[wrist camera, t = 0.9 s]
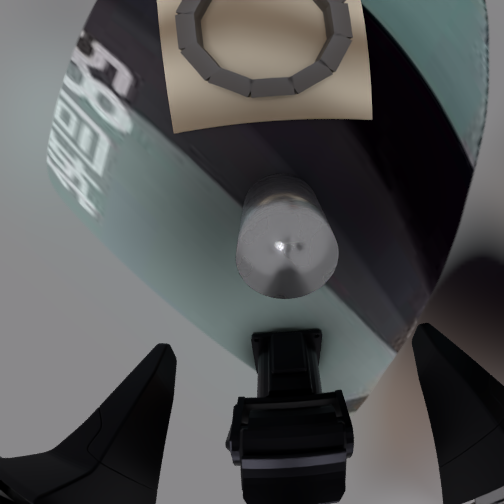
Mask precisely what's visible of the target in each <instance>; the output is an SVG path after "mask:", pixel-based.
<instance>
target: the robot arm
mask: <svg viewBox="0 0 504 504" xmlns="http://www.w3.org/2000/svg"><path fill="white" fill-rule="evenodd" d="M251 342H252V348H253V354H254V359H255V365H256V371H257V374H258V390H257V398H245V397H238V402H237V404H236V405H235V406H234V409H233V420H232V425H231V428H230V431H229V434H228V437H227V440H226V448H227V449H228V450H229V451H230V452H231V456H232V459H233V463H234V465H235V466H241V481H242V490H243V499H244V500H245V502H246V503H247V504H330V503H337V502H339V501H340V499H341V498H342V496H343V494H344V492H345V478H346V477H345V476H346V458H350V457H351V456H352V453H353V447H354V435H353V427H352V423H351V420H350V416H349V413H348V410H347V406H346V403H345V400H344V396H343V393H342V390H335V392H327V393H322V389H321V381H320V374H319V367H318V366H319V358H320V351H321V342H322V332H321V330H305V331H293V332H278V333H260V334H253V335H252V337H251ZM412 347H413V351H414V356H415V361H416V366H417V372H418V376H419V381H420V385H421V388H422V392H423V395H424V399H425V403H426V407H427V411H428V415H429V419H430V423H431V428H432V432H433V437H434V442H435V447H436V453H437V458H438V464H439V472H440V479H441V487H442V495H443V504H462V503H465V502H467V501H470V500H473V499H475V502H473V503H471V504H504V386H503V385H502V384H501V383H500V382H499V381H497V380H496V379H495V378H494V377H493V376H492V375H490V374H489V373H488V372H487V371H486V370H485V369H484V368H482V367H481V366H480V365H479V364H478V363H477V362H476V361H474V360H473V359H472V358H471V357H470V356H469V355H467V354H466V353H465V352H464V351H463V350H461V349H460V348H459V347H458V346H456V345H455V344H454V343H453V342H452V341H450V340H449V339H448V338H447V337H446V336H444V335H443V334H442V333H441V332H439V331H438V330H437V329H436V328H434V327H433V326H432V325H431V324H429V323H424V324H420V325H418V327H417V329H416V331H415V334H414V336H413V339H412ZM176 365H177V360H176V356H175V354H174V352H173V350H172V348H171V346H170V345H169V344H164V343H159V344H157V345H156V346H155V347H154V348H153V349H152V350H151V352H150V353H149V354H148V355H147V356H146V357H145V358H144V359H143V360H142V361H141V362H140V363H139V364H138V365H137V367H136V368H135V369H134V370H133V371H132V372H131V373H130V374H129V375H128V376H127V377H126V378H125V379H124V381H123V382H122V383H121V384H120V385H119V386H118V387H117V388H116V389H115V390H114V391H113V393H111V394H110V396H109V397H108V398H107V399H106V400H105V401H104V402H103V403H102V404H101V405H100V408H97V409H96V410H95V412H94V413H93V414H92V415H91V416H90V417H89V418H88V419H87V420H86V421H85V422H84V423H83V424H82V425H81V426H79V427H78V428H77V429H76V430H75V431H74V432H73V433H72V434H70V435H69V436H68V437H67V438H66V439H65V440H63V441H62V442H61V443H60V444H59V445H58V446H56V447H55V448H54V449H52V450H50V451H47V452H44V453H39V454H33V455H27V456H21V457H14V458H2V457H0V504H155V503H156V497H157V489H158V483H159V476H160V470H161V464H162V458H163V452H164V446H165V440H166V435H167V430H168V424H169V419H170V414H171V409H172V404H173V397H174V386H175V375H176Z"/></svg>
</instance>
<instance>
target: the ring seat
mask: <svg viewBox="0 0 504 504" xmlns="http://www.w3.org/2000/svg"><path fill="white" fill-rule="evenodd" d="M157 6H158V18H159V28H160V38H161V47H162V55H163V63H164V71H165V79H166V86H167V93H168V99H169V106H170V112H171V119H172V125H173V131H174V134H175V133H180V132H186V131H191V130H198V129H204V128H211V127H218V126H225V125H233V124H242V123H252V122H264V121H277V120H296V119H364V120H372V96H371V79H370V66H369V55H368V46H367V38H366V30H365V23H364V17H363V11H362V5H361V0H157Z"/></svg>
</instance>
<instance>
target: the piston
mask: <svg viewBox="0 0 504 504" xmlns="http://www.w3.org/2000/svg"><path fill="white" fill-rule="evenodd" d="M338 256H339V250H338V244H337V241H336V239H335V236H334V234H333V232H332V230H331V227H330V225H329V223H328V221H327V219H326V216H325V214H324V212H323V210H322V208H321V206H320V204H319V202H318V200H317V197H316V195H315V193H314V192H313V190H312V189H311V187H310V186H309V185H308V184H307V183H306V182H305V181H303V180H302V179H300V178H298V177H296V176H293V175H289V174H273V175H269V176H267V177H264V178H262V179H260V180H259V181H257V182H256V183H255V184H254V185H253V186H252V187H251V188H250V190H249V191H248V193H247V195H246V197H245V200H244V205H243V211H242V218H241V224H240V230H239V237H238V243H237V250H236V264H237V268H238V271H239V273H240V275H241V277H242V279H243V280H244V281H245V282H246V283H247V284H248V285H249V286H250V287H251V288H252V289H254V290H255V291H257V292H259V293H261V294H263V295H265V296H269V297H273V298H280V299H290V298H297V297H301V296H304V295H307V294H310V293H312V292H314V291H315V290H317V289H319V288H320V287H321V286H323V285H324V284H325V283H326V282H327V281H328V279H329V278H330V277H331V276H332V274H333V272H334V270H335V268H336V266H337V262H338Z"/></svg>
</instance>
